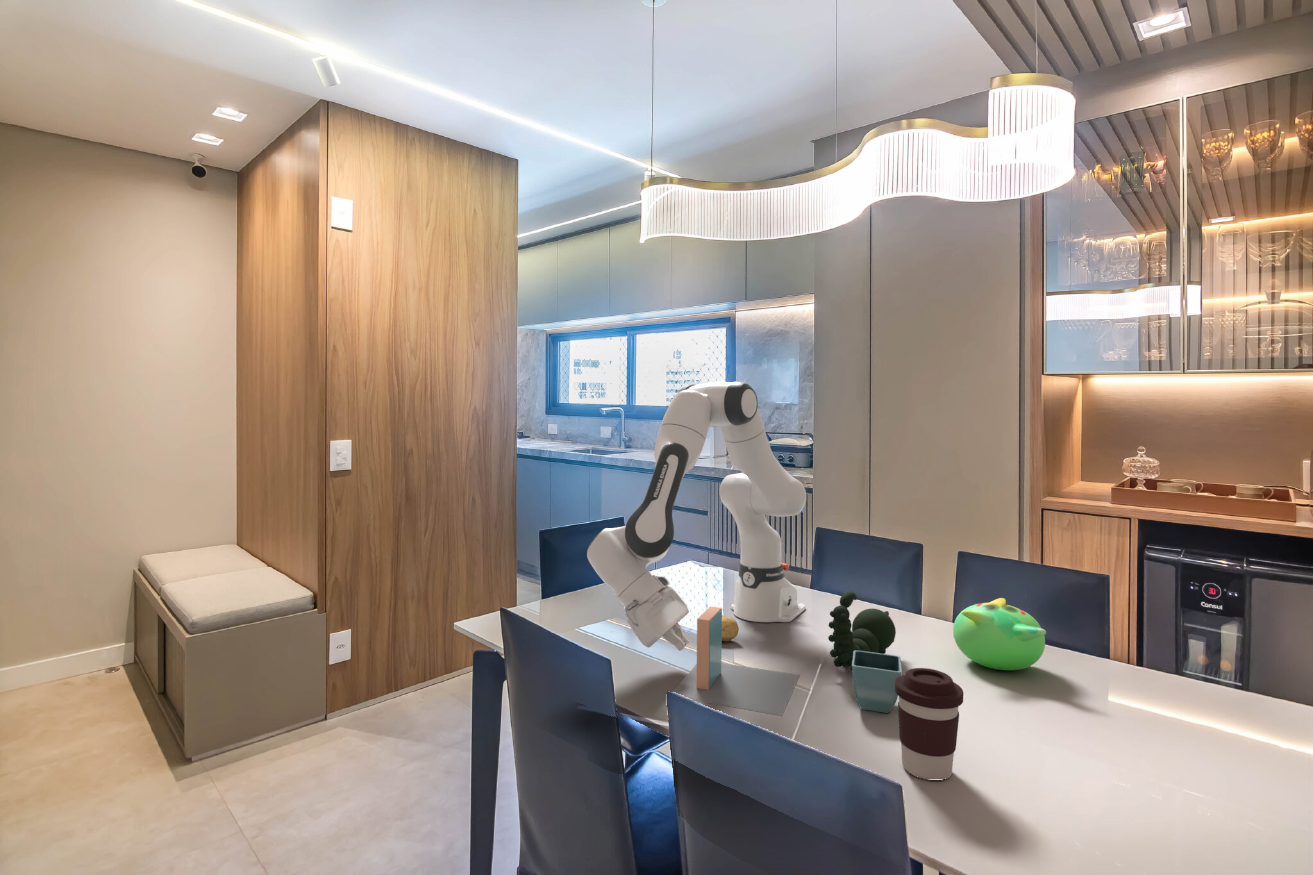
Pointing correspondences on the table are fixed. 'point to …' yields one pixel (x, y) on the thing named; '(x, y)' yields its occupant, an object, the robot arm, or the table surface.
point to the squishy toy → (999, 636)
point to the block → (709, 647)
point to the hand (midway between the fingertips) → (684, 646)
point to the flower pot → (875, 680)
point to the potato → (729, 628)
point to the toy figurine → (859, 631)
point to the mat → (743, 688)
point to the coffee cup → (928, 721)
